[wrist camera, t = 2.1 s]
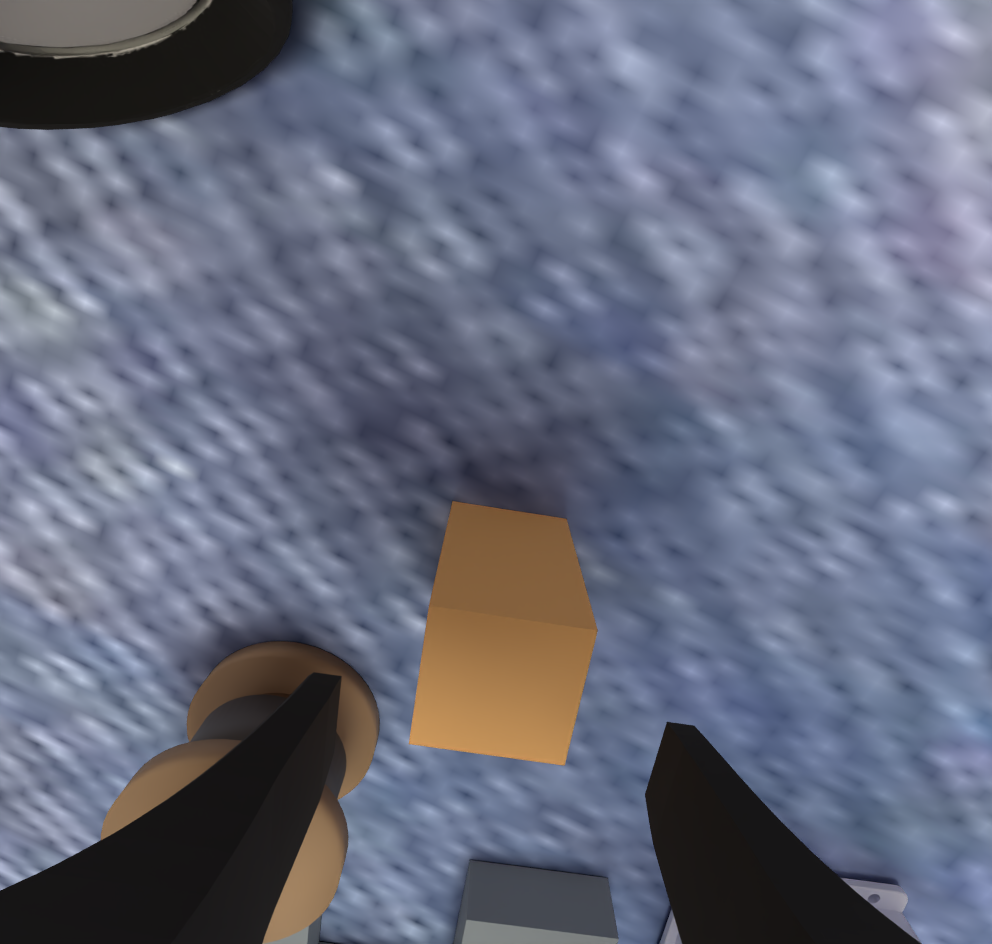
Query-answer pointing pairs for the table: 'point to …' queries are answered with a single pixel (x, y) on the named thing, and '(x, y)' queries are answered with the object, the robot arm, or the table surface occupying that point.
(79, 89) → the portable speaker
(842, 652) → the table surface
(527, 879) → the notched board
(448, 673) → the orange rectangular block
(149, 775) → the bobbin post
